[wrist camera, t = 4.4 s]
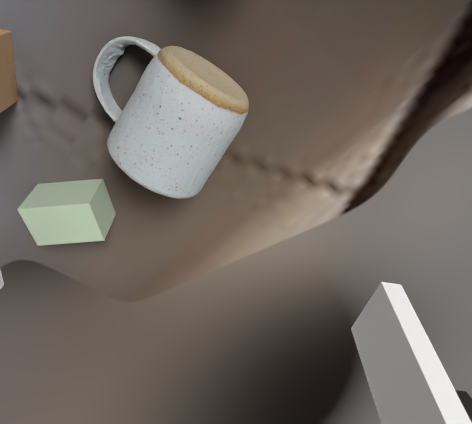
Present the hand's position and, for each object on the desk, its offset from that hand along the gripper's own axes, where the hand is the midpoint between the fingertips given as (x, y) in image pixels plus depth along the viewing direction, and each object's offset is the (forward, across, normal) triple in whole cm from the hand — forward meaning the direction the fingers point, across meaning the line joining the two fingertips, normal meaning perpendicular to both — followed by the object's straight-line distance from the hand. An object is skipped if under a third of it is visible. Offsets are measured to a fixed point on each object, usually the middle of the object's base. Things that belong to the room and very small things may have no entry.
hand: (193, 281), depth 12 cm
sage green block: (+19, -11, -12) cm, 25 cm away
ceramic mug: (+19, -4, -1) cm, 20 cm away
